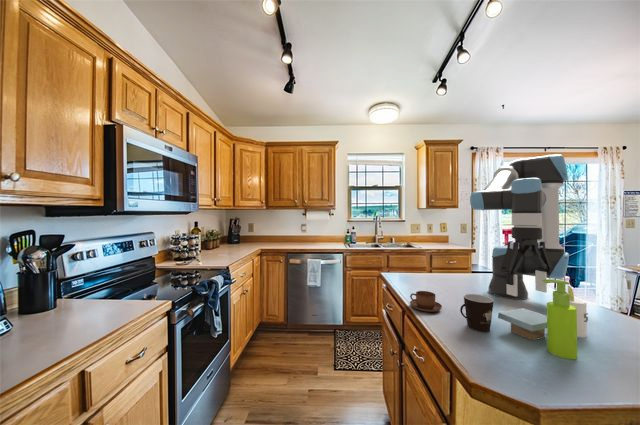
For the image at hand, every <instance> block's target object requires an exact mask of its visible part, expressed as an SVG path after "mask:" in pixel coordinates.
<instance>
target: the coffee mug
mask: <svg viewBox="0 0 640 425" xmlns="http://www.w3.org/2000/svg"><path fill="white" fill-rule="evenodd" d="M463 302H464V303H463V304H461V306H460V309H459V311H460V313H461V316H463V317H464V319H466V324H467V327H468V329H470V330H473V331H476V332H479V333H480V332H481V333H488V332H491V325H492V317H493V312H494V311H493V309H494V302H495V301H494V299H493V298H491V297H490V296H486V295H482V294H475V293H467V294H463ZM463 309H464V310H465V313H464V312H463Z"/></svg>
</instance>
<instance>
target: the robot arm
mask: <svg viewBox="0 0 640 425" xmlns="http://www.w3.org/2000/svg"><path fill="white" fill-rule="evenodd" d="M566 165H567V164H566V161H565V157H564V155H562V154H546V155H541V156H533V157H527V158H518V159H515V160H512V161H510V162H507V163H505V164H504V165H502V166H500V167H498V168H497V170H495V172H494V173H493V177H492V179H491V180H490V181H489V183H488V184H487V185H486V186H485V187H484V189H483V190H477V191H472V192H471V194H470V196H469V205H470V207H471V209H472V210H474V211H475V210H476V211H495V210H496V211H497V210H498V211H499V210H501V211H502V210H503V211H504V210H508V211H509V210H511V225H512V226H513V227H511V238H512V239H514V241H515V242H514V241H508V242H507V245H503V246H495V247H493V249H492V256H491V261H492V263H491V266H492V268H491V269H492V276H491V279H490V282H489V285H488V293H490V294H492V295H493V296H497V297H500V298H504V299H505V298H506V299H511V300H512V299H513V300H526V299H528V298H529V292H528V289H527V288H526V284H525V281H524V276H530V277H531V276H532V277H535V291H538V292H541V293H547V291H548V290H547V289H548V286H547V284H548V283H545V282H543V281H542V280H546V279H555V280H563V279H564V278H565V277H566V276H567V275H566V274H567V269H568V267H569V266H568V264H569V259H570V258H569V257H570V253H568V252H566V251H565V247H563V246H562V245H561V244H560V213H559V212H560V204H559V203H560V197H559V196H560V195H559V194H560V192H559V191H560V190H559V189H560V188H562V187H563V186H564V182H565V181H568V180H569V175H568V174H569V173H568V170H567V166H566Z"/></svg>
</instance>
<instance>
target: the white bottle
mask: <svg viewBox="0 0 640 425" xmlns="http://www.w3.org/2000/svg"><path fill="white" fill-rule="evenodd" d="M567 291H568V292H567V293H569V294H570V305H571V306H574V307H576V308H577V338H587V337H588V324H587V323H588V321H589V317H588V315H589V313H587V310H588V309H587V302H586V301H585V300H583V299H580V298H576V297H575V295H574V291H573V289H572V287H571V285H567Z"/></svg>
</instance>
